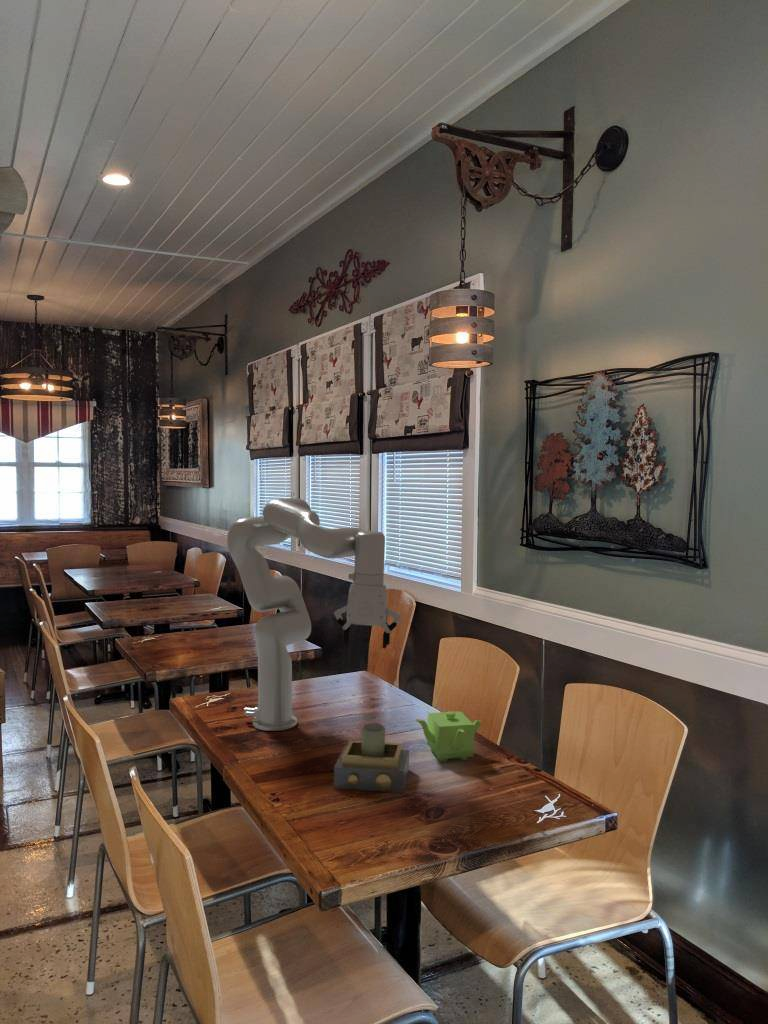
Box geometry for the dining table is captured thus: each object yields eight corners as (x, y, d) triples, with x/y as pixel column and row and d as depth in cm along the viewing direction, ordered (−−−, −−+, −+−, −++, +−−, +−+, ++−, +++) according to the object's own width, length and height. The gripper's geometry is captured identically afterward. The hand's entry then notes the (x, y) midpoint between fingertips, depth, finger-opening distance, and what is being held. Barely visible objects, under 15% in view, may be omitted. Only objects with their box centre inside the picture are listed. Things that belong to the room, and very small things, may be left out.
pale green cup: (359, 760, 175) (359, 729, 175) (364, 748, 183) (365, 719, 182) (382, 762, 175) (383, 731, 174) (386, 750, 182) (387, 720, 181)
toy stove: (333, 790, 171) (333, 760, 171) (344, 765, 185) (344, 738, 185) (402, 795, 169) (403, 764, 169) (409, 770, 183) (409, 741, 183)
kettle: (462, 771, 183) (463, 726, 182) (411, 759, 190) (411, 716, 189) (487, 751, 196) (487, 709, 195) (438, 741, 203) (438, 700, 202)
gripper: (332, 579, 189) (330, 646, 191) (400, 584, 187) (397, 652, 188) (338, 575, 197) (336, 639, 198) (404, 579, 194) (401, 644, 195)
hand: (366, 645), depth 193 cm, fingers open, 9 cm apart
